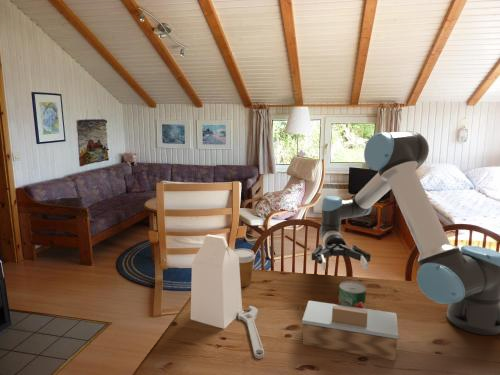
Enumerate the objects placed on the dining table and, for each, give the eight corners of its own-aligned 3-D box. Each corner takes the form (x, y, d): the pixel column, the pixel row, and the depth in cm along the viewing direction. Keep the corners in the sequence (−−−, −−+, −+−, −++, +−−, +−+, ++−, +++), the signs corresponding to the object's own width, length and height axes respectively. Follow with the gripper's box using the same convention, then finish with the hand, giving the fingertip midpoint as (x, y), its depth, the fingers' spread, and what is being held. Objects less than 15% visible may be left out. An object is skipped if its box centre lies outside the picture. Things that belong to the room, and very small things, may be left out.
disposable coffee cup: (249, 276, 150) (249, 246, 147) (259, 286, 141) (259, 255, 139) (226, 280, 146) (225, 250, 144) (234, 290, 138) (234, 259, 135)
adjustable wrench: (265, 360, 101) (265, 354, 100) (240, 361, 100) (240, 355, 100) (257, 310, 125) (257, 305, 125) (237, 311, 125) (237, 306, 124)
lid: (395, 316, 109) (397, 300, 108) (398, 339, 98) (399, 321, 97) (308, 303, 116) (309, 288, 115) (302, 323, 105) (302, 306, 104)
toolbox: (393, 337, 110) (394, 317, 109) (395, 360, 99) (397, 339, 98) (308, 323, 117) (309, 305, 116) (302, 344, 107) (303, 324, 105)
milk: (242, 310, 124) (241, 233, 119) (224, 328, 114) (222, 245, 109) (210, 302, 129) (208, 228, 124) (190, 319, 119) (187, 239, 114)
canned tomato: (338, 311, 124) (340, 279, 121) (364, 314, 122) (366, 282, 119) (337, 324, 116) (338, 290, 114) (364, 328, 114) (366, 294, 112)
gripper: (366, 253, 147) (383, 278, 127) (301, 251, 148) (306, 276, 128) (368, 234, 146) (384, 256, 125) (301, 233, 147) (307, 254, 126)
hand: (345, 266), depth 126 cm, fingers open, 13 cm apart
